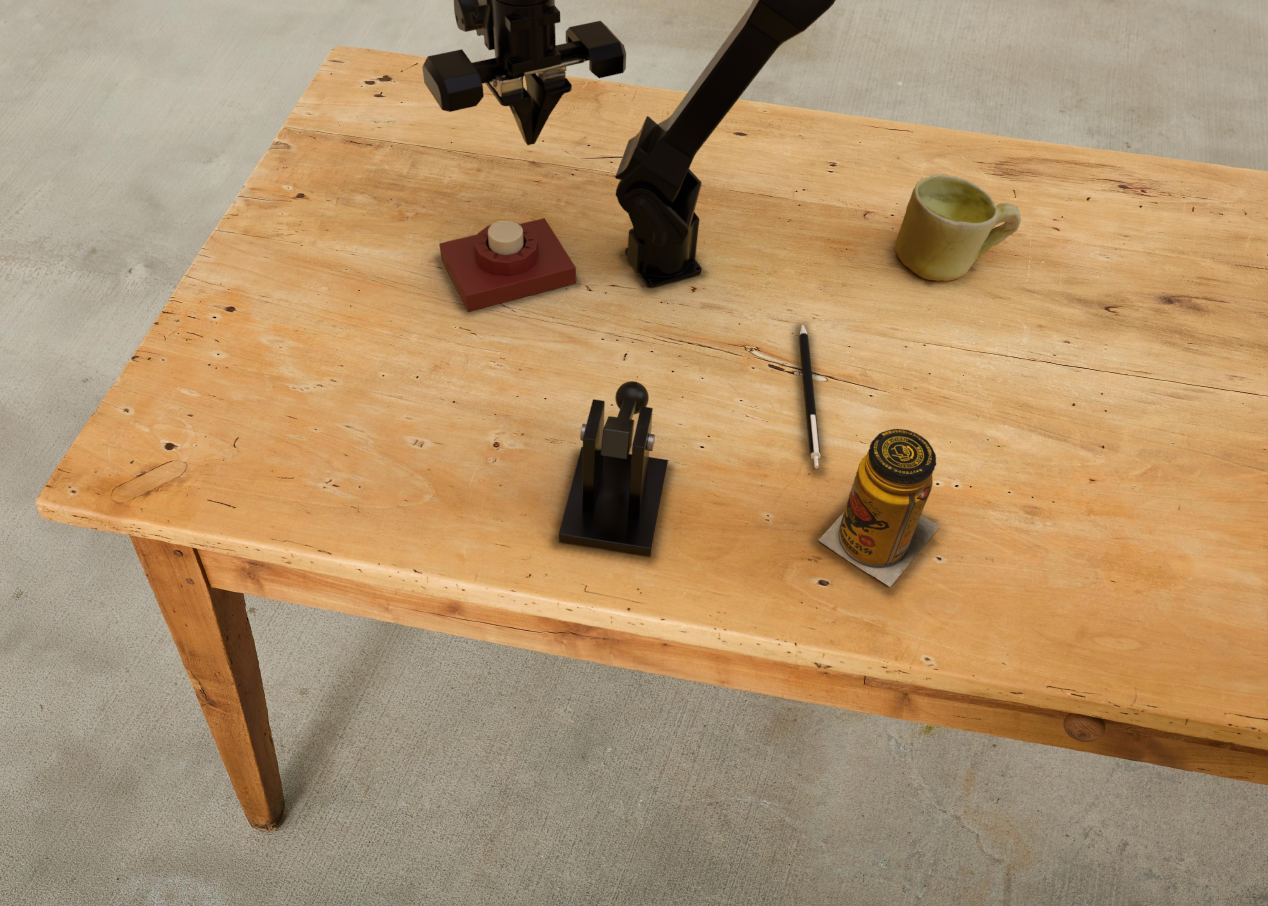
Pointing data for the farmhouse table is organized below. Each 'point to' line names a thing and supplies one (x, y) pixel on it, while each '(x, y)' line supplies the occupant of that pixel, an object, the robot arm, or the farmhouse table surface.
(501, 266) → the button housing
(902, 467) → the condiment
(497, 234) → the button
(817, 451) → the pen
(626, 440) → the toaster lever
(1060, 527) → the farmhouse table surface
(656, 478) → the lever bracket
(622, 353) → the farmhouse table surface
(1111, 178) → the farmhouse table surface
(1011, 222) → the mug
